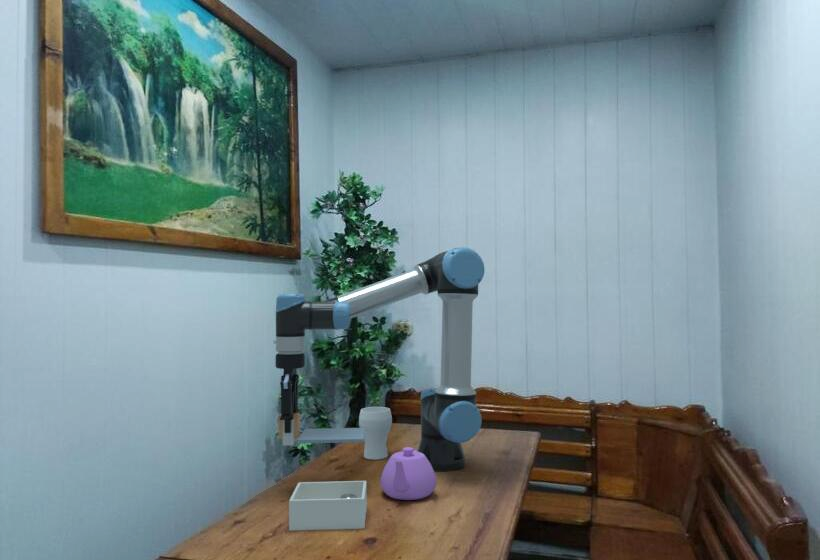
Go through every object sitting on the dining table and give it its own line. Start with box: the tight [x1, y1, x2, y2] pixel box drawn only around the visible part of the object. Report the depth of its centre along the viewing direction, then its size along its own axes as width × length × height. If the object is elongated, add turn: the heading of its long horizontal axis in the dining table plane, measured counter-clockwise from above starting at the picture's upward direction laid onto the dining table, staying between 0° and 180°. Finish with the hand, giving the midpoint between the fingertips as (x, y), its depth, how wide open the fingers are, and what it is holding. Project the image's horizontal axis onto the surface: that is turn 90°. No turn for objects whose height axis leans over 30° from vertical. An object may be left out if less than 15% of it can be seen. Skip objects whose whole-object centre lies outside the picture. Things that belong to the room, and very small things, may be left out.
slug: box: [340, 494, 356, 498], centre depth 123 cm, size 4×4×4 cm
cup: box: [358, 406, 393, 460], centre depth 173 cm, size 11×11×15 cm
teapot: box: [380, 446, 437, 501], centre depth 135 cm, size 20×14×12 cm
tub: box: [288, 480, 368, 532], centre depth 120 cm, size 16×12×7 cm
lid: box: [278, 412, 366, 444], centre depth 140 cm, size 22×13×6 cm, turn 92°
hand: (289, 443), depth 139 cm, fingers closed on lid, 3 cm apart
